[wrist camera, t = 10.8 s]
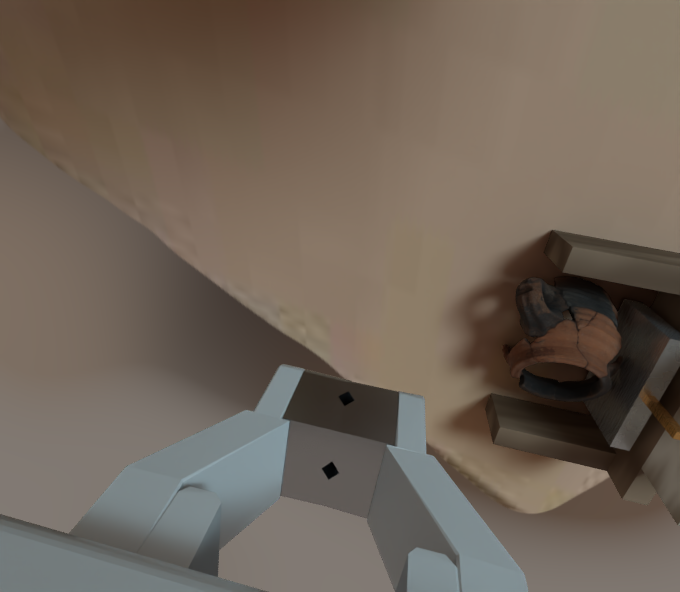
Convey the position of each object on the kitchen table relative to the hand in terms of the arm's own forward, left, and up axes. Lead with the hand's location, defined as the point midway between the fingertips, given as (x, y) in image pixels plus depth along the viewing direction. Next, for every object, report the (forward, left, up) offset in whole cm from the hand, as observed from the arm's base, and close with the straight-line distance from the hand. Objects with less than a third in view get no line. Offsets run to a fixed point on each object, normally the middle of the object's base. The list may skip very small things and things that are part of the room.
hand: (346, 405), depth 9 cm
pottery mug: (+9, +15, -30) cm, 34 cm away
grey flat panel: (+10, +22, -29) cm, 38 cm away
